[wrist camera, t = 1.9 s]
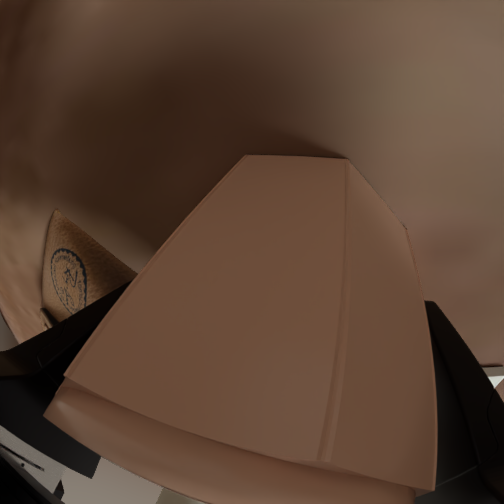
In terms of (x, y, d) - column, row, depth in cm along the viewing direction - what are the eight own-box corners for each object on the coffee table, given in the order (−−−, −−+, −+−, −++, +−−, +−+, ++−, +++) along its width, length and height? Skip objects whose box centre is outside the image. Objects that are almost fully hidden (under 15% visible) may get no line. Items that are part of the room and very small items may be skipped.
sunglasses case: (48, 195, 12) (11, 319, 8) (169, 228, 16) (172, 348, 12) (44, 323, 23) (39, 388, 19) (108, 335, 27) (108, 398, 23)
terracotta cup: (418, 166, 7) (518, 499, 1) (377, 332, 11) (356, 529, 5) (184, 155, 9) (-25, 351, 3) (216, 311, 13) (135, 475, 7)
